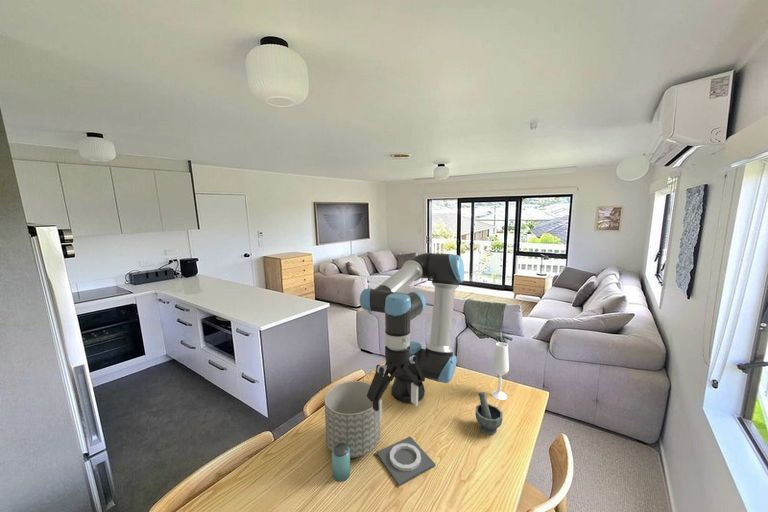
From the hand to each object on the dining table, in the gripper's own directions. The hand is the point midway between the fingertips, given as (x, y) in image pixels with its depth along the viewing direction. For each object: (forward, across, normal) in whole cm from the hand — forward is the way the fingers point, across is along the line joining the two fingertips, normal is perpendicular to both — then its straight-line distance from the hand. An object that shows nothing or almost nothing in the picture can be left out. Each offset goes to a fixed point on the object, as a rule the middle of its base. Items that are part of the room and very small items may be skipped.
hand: (397, 411), depth 91 cm
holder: (+20, +4, +2) cm, 21 cm away
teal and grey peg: (+20, -15, +8) cm, 27 cm away
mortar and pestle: (+20, +40, -3) cm, 45 cm away
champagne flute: (+20, +61, +7) cm, 64 cm away
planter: (+20, -7, +17) cm, 28 cm away
